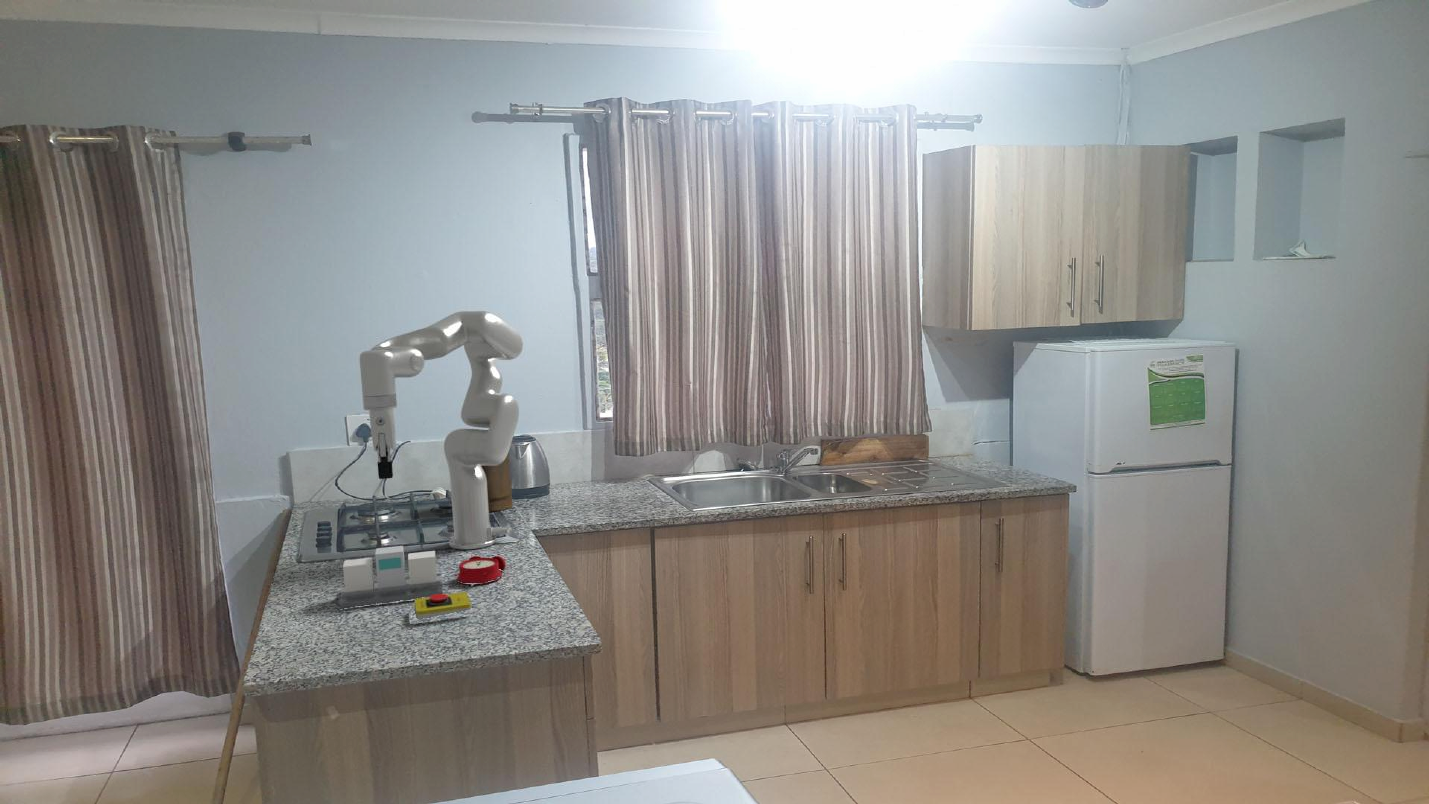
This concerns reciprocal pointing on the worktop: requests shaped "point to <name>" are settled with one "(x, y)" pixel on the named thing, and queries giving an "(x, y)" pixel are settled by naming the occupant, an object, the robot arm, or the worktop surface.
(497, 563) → the alarm clock
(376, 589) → the board
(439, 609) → the emergency button
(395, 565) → the block
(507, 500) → the wooden container
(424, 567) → the mounted modules
